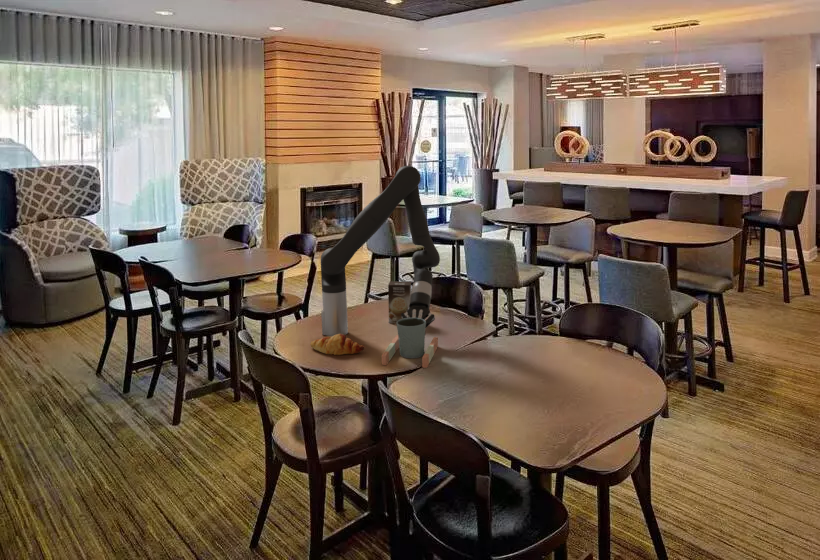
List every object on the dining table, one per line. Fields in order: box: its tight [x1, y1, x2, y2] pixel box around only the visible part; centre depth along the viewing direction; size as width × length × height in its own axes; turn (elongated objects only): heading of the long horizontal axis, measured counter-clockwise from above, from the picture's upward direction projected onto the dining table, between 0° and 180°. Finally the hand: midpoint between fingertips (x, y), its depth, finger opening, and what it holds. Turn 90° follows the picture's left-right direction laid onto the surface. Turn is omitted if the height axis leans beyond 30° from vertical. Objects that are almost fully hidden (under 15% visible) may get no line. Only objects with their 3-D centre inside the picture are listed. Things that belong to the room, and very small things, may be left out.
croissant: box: [310, 334, 365, 356], centre depth 240 cm, size 21×10×8 cm
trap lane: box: [381, 334, 439, 369], centre depth 235 cm, size 15×22×4 cm
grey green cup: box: [396, 318, 426, 359], centre depth 235 cm, size 10×10×12 cm
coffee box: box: [387, 281, 412, 324], centre depth 274 cm, size 9×6×16 cm
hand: (415, 338), depth 240 cm, fingers closed
